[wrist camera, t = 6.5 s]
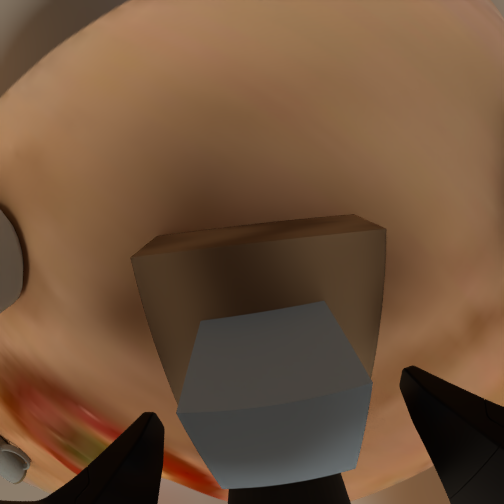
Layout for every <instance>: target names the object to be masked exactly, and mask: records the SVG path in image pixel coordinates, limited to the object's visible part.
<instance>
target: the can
mask: <svg viewBox="0 0 504 504" xmlns="http://www.w3.org/2000/svg"><path fill="white" fill-rule="evenodd" d="M22 283H23V257H22V250H21V246H20V243H19V239H18V236H17V234H16V232H15V230H14V227H13V225H12V224H11V223H10V221H9V220H8V219H7V217H6V216H5V215H4V214H3V212H2V211H1V209H0V313H1V312H3V311H4V310H5V309H7V308H8V307H9V306H11V305H12V304H13V303H14V302H15V301H16V300H17V299H18V298H19V296H20V292H21V289H22Z"/></svg>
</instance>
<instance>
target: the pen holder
mask: <svg viewBox="0 0 504 504" xmlns="http://www.w3.org/2000/svg"><path fill="white" fill-rule="evenodd" d="M228 504H351V503H350V500H349V497H348V494H347V491H346V488H345V485H344V482H343V479H342V476H341V473H337V474H333V475H329V476H325V477H320V478H316V479H311V480H306V481H300V482H294V483H288V484H281V485H273V486H264V487H252V488H236V489H229V495H228Z"/></svg>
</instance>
